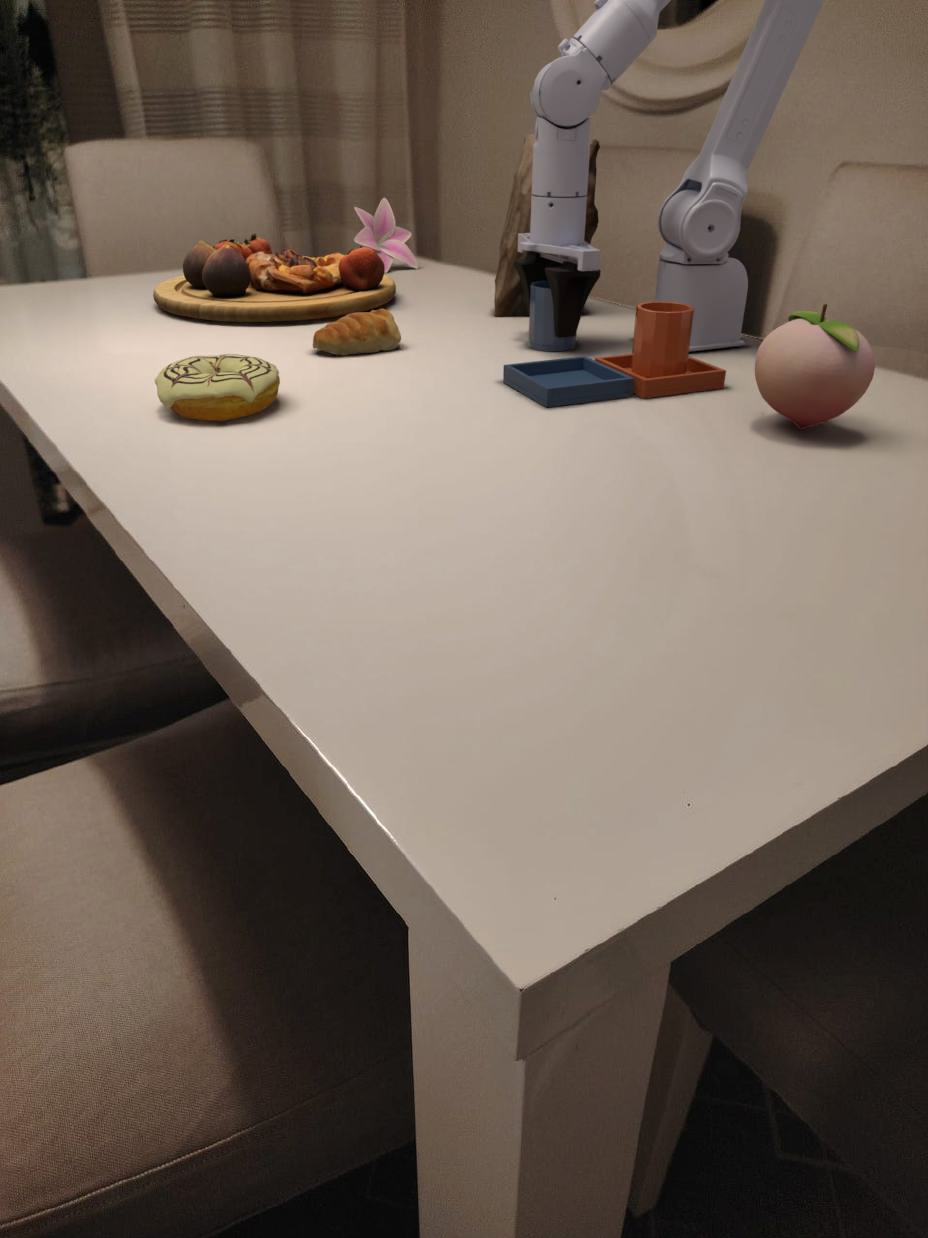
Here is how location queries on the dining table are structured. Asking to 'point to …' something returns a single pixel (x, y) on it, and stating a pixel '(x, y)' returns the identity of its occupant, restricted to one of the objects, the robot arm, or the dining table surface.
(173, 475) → the dining table surface
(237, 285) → the wooden plate
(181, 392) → the decorated donut
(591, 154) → the brown rock
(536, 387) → the blue dish
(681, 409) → the dining table surface
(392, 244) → the lily
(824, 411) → the decorative fruit
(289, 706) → the dining table surface
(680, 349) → the terracotta cup
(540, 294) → the blue cup
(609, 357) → the terracotta dish
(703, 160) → the robot arm
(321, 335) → the pastry
